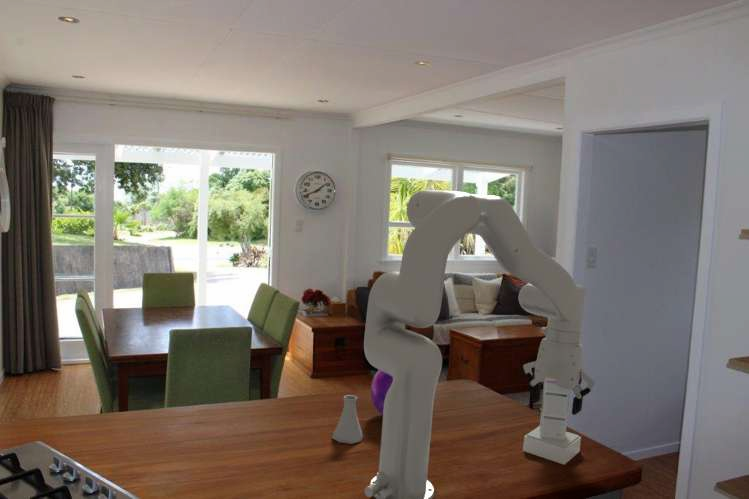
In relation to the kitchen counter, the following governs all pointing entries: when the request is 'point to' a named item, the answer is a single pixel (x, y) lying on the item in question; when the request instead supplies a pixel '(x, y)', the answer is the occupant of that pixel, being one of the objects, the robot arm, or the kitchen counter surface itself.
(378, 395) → the decorative orb
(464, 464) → the kitchen counter surface
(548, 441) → the block
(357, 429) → the flask
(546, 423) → the syrup box
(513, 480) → the kitchen counter surface
